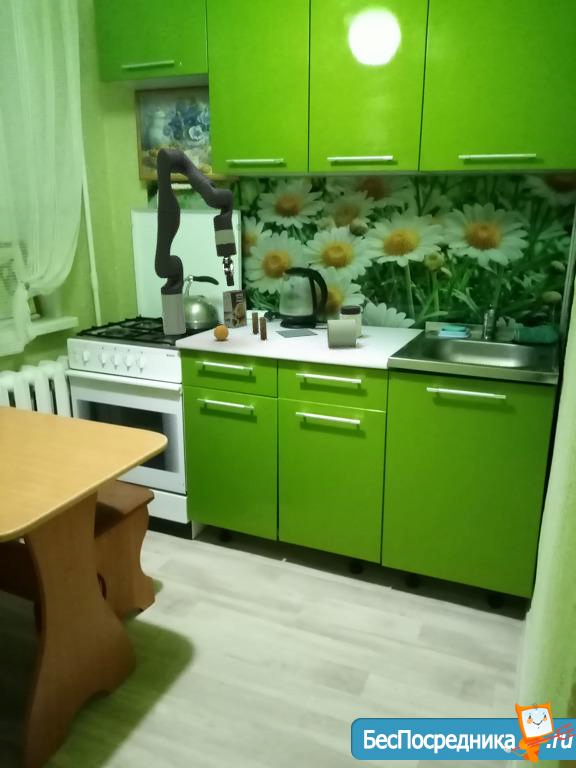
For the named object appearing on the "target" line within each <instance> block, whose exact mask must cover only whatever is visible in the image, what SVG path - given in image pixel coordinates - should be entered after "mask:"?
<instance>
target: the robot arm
mask: <svg viewBox="0 0 576 768" xmlns="http://www.w3.org/2000/svg"><path fill="white" fill-rule="evenodd" d="M156 174H157V177H156V179H157V229H156V230H157V232H156V233H157V234H156V246H155V255H154V267H153V268H154V272H155V274H156V275H157V277H158V278H160V279H166V282H165V284H163V285H162V286H161V288H160V298H161V307H162V310H161V315H162V324H163V325H162V326H163V327H162V328H163V333H164V335H165V336H168V335H169V336H172V335H173V336H174V335H182V334H185V333H186V332H187V330H186V329H187V328H186V317H185V315H186V314H185V305H184V292H183V291H184V290H183V289H184V285H185V284H184V283H185V281H184V280H185V279H184V272H185V271H184V264H183V260H182V259H181V258H180V257H179V256H178V255H175V254H171V248H172V245H173V241H174V239H175V237H176V236H177V234H178V231H179V229H180V226H181V205H180V203H179V201H178V198H177V196H176V194H175V192H174V190H173V188H172V180H171V178H172V176H171V175H172V174H176V175H177V174H179V175H180V174H181V175H182V176H185V177H186V178H187V180H188V184H189V185H190V187H191V188H192V190H194V191H195V192H196V193H197V194H199V195H200V196H201V198H202V199H203V201H204V203H205V204H206V205H207V206H208V207H210V208H212V209H220V211H219V212H220V213H219V214H217V215H214V216H213V222H212V223H213V230H214V243H215V249H216V256H217V257H218V258H222V266H223V267H222V268H223V272H224V277H225V279H226V286H227V287H233V286H235V279H234V275H235V274H234V273H235V267H234V260H233V259H232V258H231V257H232V256H236V255H237V244H236V237H235V232H234V226H233V219H232V218H233V212H234V206H235V205H234V204H235V199H234V195H233V193H232V191H231V190H230V189H227V188H217V185H216V183H215V181H213V180H212V178H210V177H209V176H208V175H206V174H205V173H203V172H202V171H201V170H200V169H199V168H198V167H197V166H196V165H195V163H193V161H192V160H191V159H190V157H188V155H187V154H186V153H185V152H184V151H183V150H181V149H178V148H168V147H167V148H166V147H162V148H160V149H159V150H158V152H157V155H156Z"/></svg>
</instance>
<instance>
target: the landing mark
mask: <svg viewBox="0 0 576 768" xmlns="http://www.w3.org/2000/svg"><path fill="white" fill-rule="evenodd" d="M275 332H276V333H277V332H278V333H277V334H278V335H280V334H281V335H280V336H282V337H283V336H284V337H283V338H286V337H287V338H294V337H297V338H298V337H307V336H317V335H318V333H316V332H314V331H312V330H310V329H308V328H298V329H287V330H286V329H285V330H275Z"/></svg>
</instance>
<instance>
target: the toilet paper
mask: <svg viewBox="0 0 576 768" xmlns="http://www.w3.org/2000/svg"><path fill="white" fill-rule="evenodd" d="M326 321H327V325H326V326H327V327H326V330H327V331H326V335H327V337H326V338H327V347H328V348H333V347H334V348H336V347H337V348H338V347H355V346H357V338H356V322H355V319H348V320H340V319H328V320H326Z"/></svg>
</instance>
